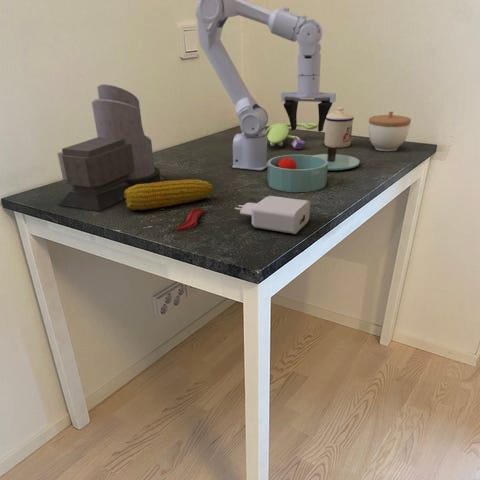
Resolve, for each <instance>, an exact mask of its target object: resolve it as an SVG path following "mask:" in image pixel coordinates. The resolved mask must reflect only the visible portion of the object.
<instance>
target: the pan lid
mask: <svg viewBox="0 0 480 480" xmlns="http://www.w3.org/2000/svg"><path fill="white" fill-rule="evenodd" d="M337 149H338V148H337V146H327V153H321V154H319V153H318V154H313V155H312V156H317V157H321V158H324V159H326V160H327V161H328V170H327V171H334V172H335V171H345V170H349V169H354V168H356V167H358V166H359V165H360V163H361V162H360V160H359V158H357V157H354V156H351V155H346V154H340V153H339V154H338V153H337Z"/></svg>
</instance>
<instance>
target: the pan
mask: <svg viewBox="0 0 480 480" xmlns="http://www.w3.org/2000/svg"><path fill="white" fill-rule="evenodd" d="M284 158H290V159H292V160H294V161H295V163H296V166H297V169H284V168H279V167H277V165H278V163H279V162H280V160H282V159H284ZM267 162H268V167H267V185H268V187H270V188H271V189H273V190H275V191H280V192H288V193H308V192H315V191H319V190H321V189H323V188H325V187H326V186H327V182H328V171H329V170H328V161H327V160H326V159H324V158H321V157H317V156H313V155H311V154H285V155H278V156H274V157H271V158H270V159H268V160H267Z"/></svg>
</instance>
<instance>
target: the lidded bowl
mask: <svg viewBox="0 0 480 480" xmlns="http://www.w3.org/2000/svg"><path fill="white" fill-rule="evenodd" d="M411 122H412V119H411V117H408V116H404V115H397V114H394V111H388V114H379V115H373V116H370V117H369V119H368V139H369V141H370V143H371V145H372V146H373V147H374V150H376V151H381V152H394V151H397V150H398V149H399V148H400V147H401V146H402V145H403V144H404V142H405V141H406V140H407V137H408V135H409V132H410V125H411Z"/></svg>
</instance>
